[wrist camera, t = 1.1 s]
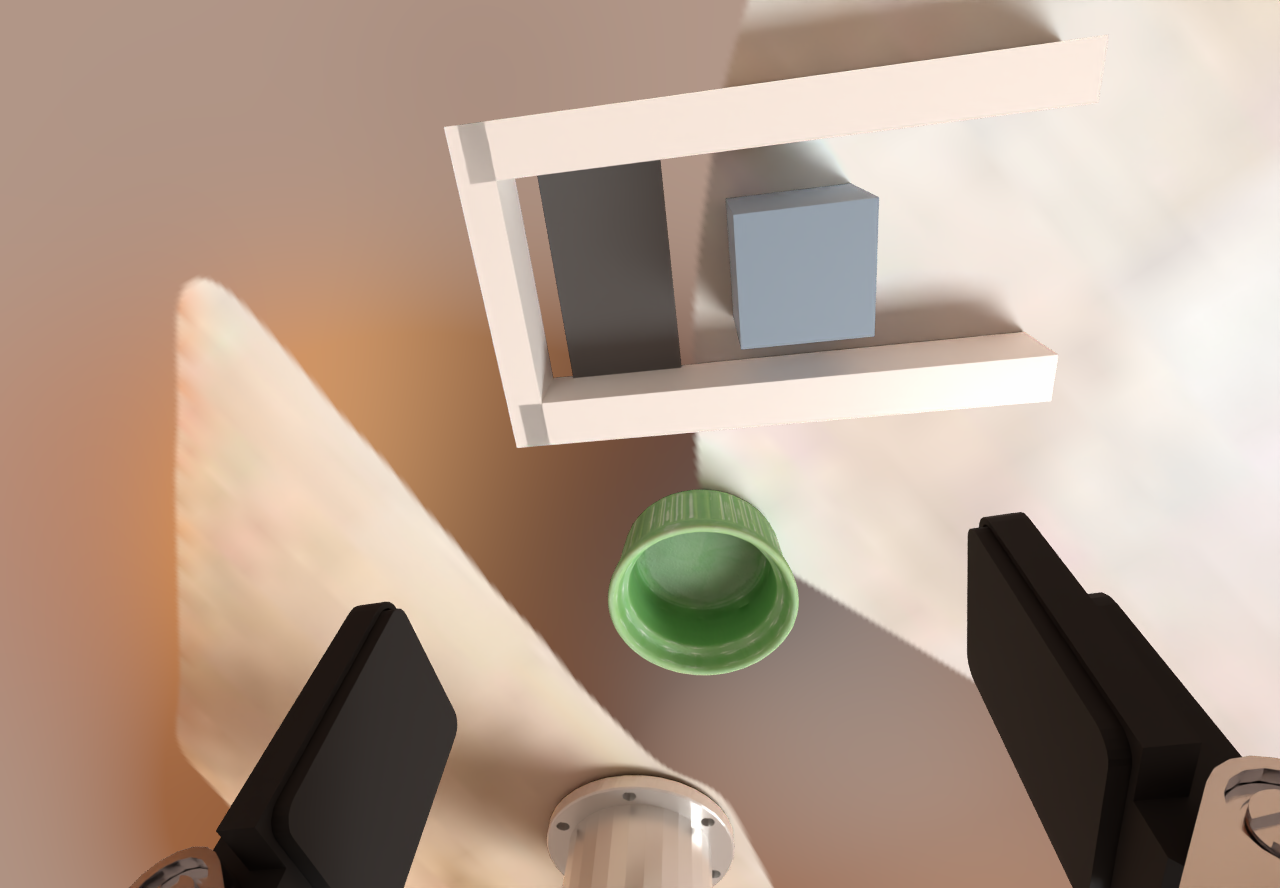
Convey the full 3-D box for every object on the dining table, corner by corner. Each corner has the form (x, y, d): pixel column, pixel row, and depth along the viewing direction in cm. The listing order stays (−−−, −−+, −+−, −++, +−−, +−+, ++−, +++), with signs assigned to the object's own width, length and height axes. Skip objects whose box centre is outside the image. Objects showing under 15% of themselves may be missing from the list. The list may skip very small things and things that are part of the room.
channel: (1018, 374, 31) (1051, 401, 28) (530, 419, 33) (516, 447, 30) (1062, 41, 25) (1109, 34, 22) (466, 124, 27) (443, 127, 24)
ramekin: (645, 455, 34) (641, 502, 30) (814, 507, 34) (831, 559, 31) (595, 591, 38) (585, 648, 34) (748, 634, 38) (755, 695, 35)
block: (848, 304, 30) (874, 336, 26) (733, 316, 30) (741, 349, 26) (849, 182, 28) (878, 197, 24) (725, 198, 28) (733, 214, 24)
